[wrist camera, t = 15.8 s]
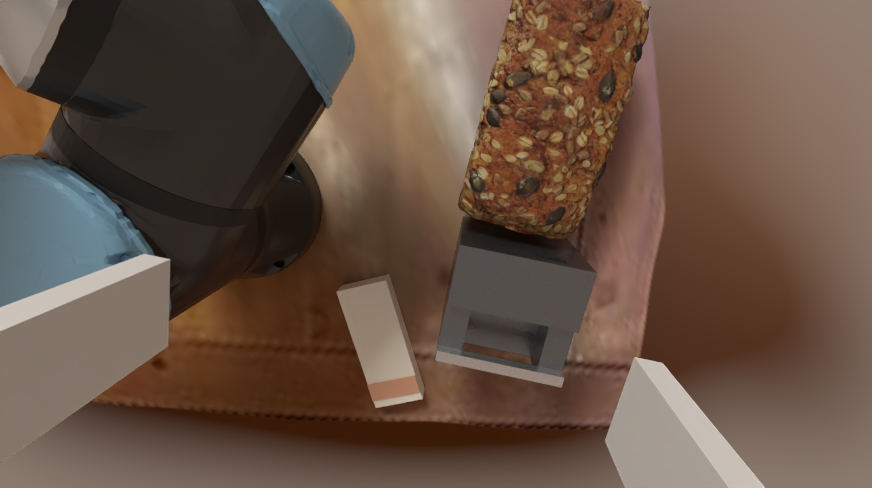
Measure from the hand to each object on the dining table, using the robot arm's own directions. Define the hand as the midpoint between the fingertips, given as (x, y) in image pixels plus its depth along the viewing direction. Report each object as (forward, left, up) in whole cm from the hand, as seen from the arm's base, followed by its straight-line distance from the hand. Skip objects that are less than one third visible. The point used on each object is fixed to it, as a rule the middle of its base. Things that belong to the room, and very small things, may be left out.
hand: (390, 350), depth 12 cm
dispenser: (+7, -7, -32) cm, 33 cm away
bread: (+7, +8, -32) cm, 34 cm away
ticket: (-4, -17, -32) cm, 37 cm away
